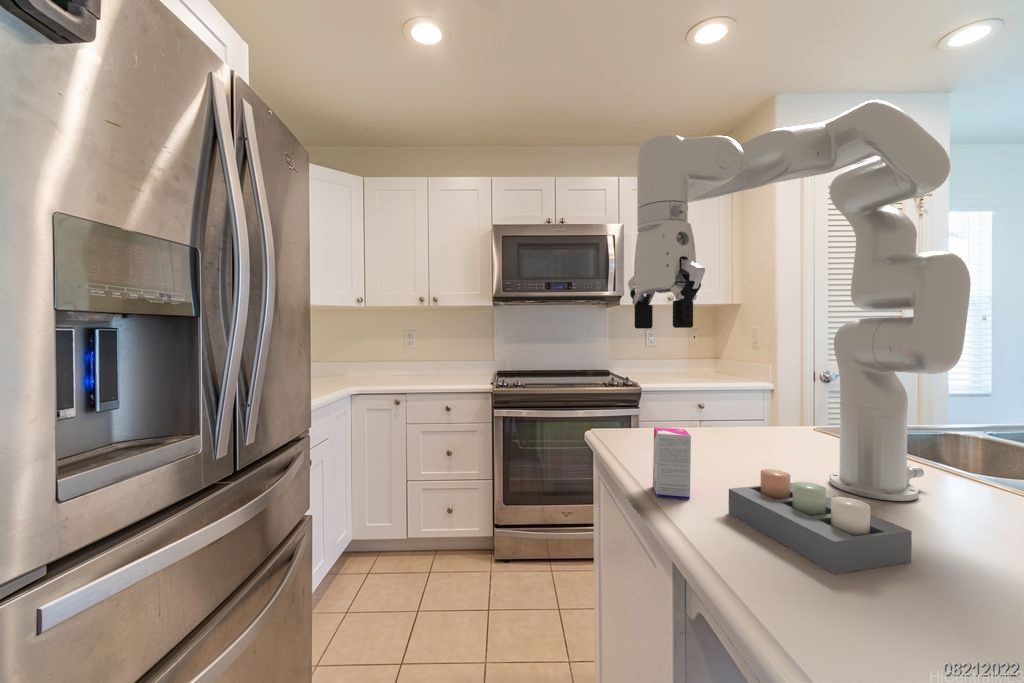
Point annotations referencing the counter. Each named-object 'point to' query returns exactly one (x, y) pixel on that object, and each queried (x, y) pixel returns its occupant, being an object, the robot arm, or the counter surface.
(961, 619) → the counter surface
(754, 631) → the counter surface
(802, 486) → the sage button
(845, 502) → the cream button
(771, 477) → the terracotta button
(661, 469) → the supplement box
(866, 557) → the tray
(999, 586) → the counter surface
